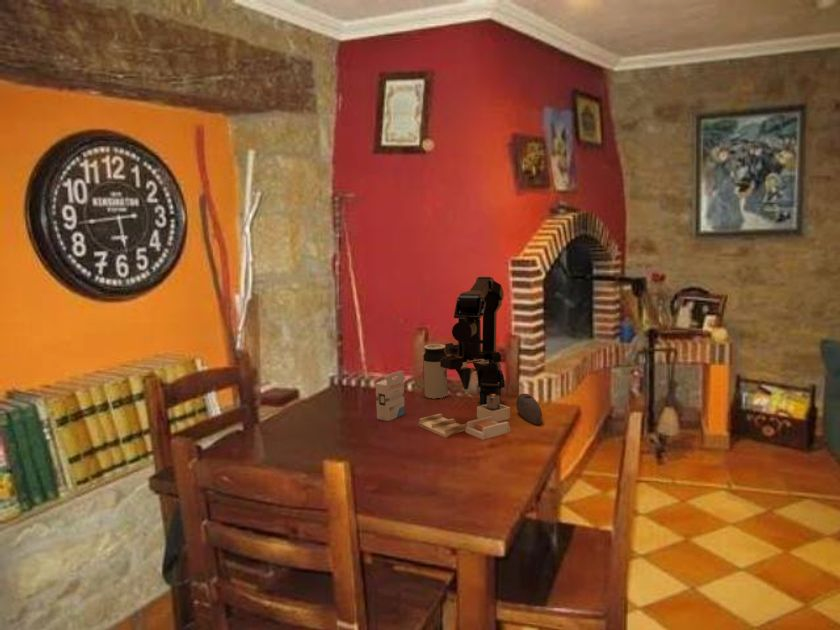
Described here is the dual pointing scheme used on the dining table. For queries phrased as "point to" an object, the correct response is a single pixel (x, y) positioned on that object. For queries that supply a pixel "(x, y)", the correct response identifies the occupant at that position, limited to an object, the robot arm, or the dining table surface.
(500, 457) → the dining table surface
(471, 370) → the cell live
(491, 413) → the bin
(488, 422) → the pad
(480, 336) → the robot arm
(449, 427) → the troughs
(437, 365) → the travel mug
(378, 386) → the ink box
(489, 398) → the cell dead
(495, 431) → the cradle
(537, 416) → the perforated stone tool
